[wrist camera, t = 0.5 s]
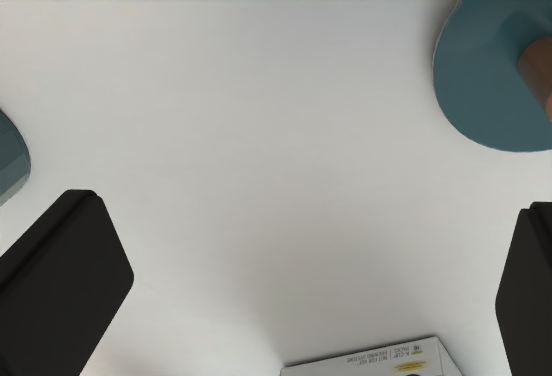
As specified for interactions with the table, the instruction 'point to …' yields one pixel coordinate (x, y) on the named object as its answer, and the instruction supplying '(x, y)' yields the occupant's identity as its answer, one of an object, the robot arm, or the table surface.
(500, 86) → the lid
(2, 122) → the pot
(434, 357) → the tea box
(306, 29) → the table surface
